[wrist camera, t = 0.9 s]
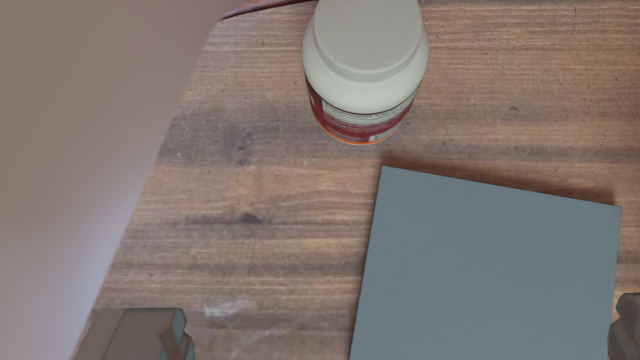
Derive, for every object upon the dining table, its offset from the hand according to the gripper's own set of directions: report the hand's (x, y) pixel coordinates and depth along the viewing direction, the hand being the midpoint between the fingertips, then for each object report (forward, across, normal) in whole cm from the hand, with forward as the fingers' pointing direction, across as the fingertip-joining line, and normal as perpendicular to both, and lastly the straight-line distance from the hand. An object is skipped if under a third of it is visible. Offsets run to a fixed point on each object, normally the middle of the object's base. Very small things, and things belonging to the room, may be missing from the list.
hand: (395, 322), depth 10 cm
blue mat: (+16, -6, +15) cm, 23 cm away
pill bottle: (+24, 0, +6) cm, 25 cm away
